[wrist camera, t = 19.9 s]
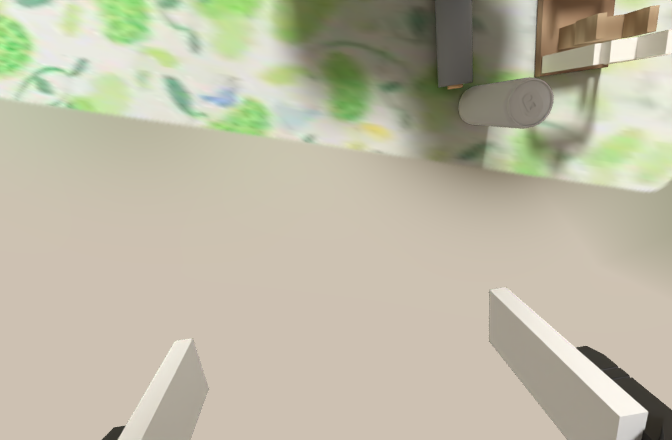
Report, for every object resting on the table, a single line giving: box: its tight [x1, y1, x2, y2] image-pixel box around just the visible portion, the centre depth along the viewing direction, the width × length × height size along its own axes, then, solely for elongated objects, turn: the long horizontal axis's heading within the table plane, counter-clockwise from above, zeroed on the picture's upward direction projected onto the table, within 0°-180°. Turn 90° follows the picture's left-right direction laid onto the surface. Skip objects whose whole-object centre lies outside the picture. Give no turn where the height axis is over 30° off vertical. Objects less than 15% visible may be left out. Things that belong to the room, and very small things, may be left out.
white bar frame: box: [542, 29, 672, 74], centre depth 37 cm, size 2×9×12 cm, turn 98°
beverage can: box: [459, 77, 553, 129], centre depth 39 cm, size 5×5×12 cm
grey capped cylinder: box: [435, 0, 473, 89], centre depth 40 cm, size 12×4×4 cm
